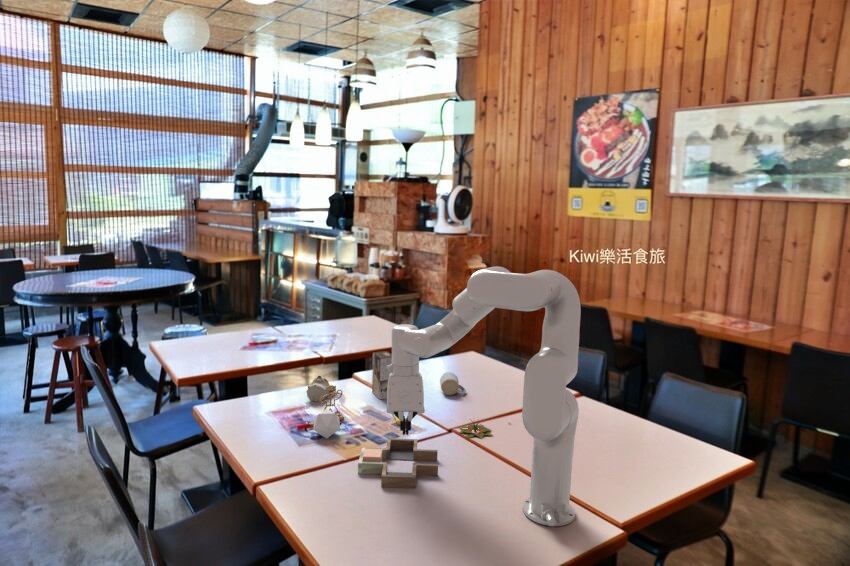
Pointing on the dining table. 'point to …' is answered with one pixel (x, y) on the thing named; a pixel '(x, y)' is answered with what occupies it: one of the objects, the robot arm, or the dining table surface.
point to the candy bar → (396, 419)
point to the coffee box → (381, 373)
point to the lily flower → (474, 427)
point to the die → (326, 423)
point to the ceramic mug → (451, 384)
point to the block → (372, 455)
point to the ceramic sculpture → (318, 389)
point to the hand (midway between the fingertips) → (405, 432)
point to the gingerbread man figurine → (331, 399)
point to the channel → (400, 451)
